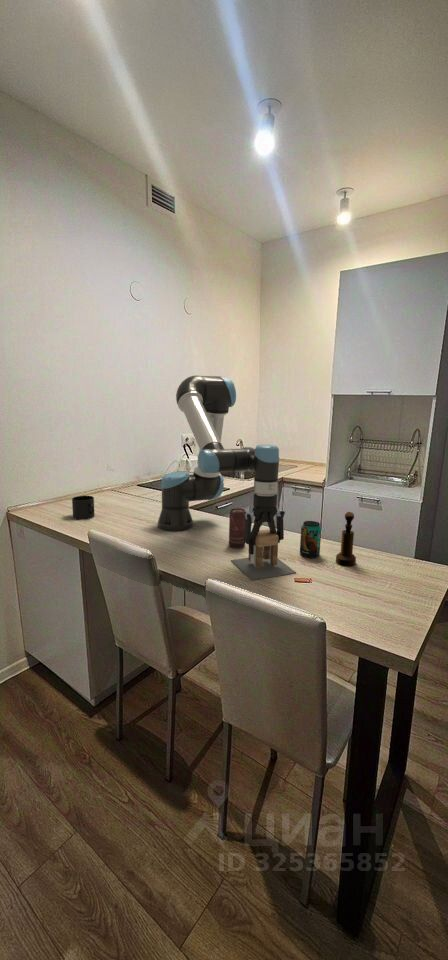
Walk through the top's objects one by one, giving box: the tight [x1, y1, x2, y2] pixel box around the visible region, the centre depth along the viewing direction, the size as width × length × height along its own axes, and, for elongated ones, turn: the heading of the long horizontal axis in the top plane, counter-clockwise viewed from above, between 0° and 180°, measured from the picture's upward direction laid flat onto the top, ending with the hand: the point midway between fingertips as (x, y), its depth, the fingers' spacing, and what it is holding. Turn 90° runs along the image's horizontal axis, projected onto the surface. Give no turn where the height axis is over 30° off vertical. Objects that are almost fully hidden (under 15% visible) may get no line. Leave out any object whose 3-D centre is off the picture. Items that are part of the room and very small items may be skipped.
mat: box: [230, 557, 297, 581], centre depth 131 cm, size 16×16×1 cm
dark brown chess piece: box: [335, 511, 357, 567], centre depth 134 cm, size 7×6×18 cm
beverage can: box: [299, 520, 322, 559], centre depth 141 cm, size 7×7×12 cm
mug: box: [71, 495, 96, 520], centre depth 181 cm, size 9×12×9 cm
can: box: [228, 508, 247, 549], centre depth 149 cm, size 6×6×14 cm
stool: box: [248, 528, 279, 568], centre depth 130 cm, size 7×7×10 cm
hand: (262, 561), depth 130 cm, fingers closed on stool, 6 cm apart
